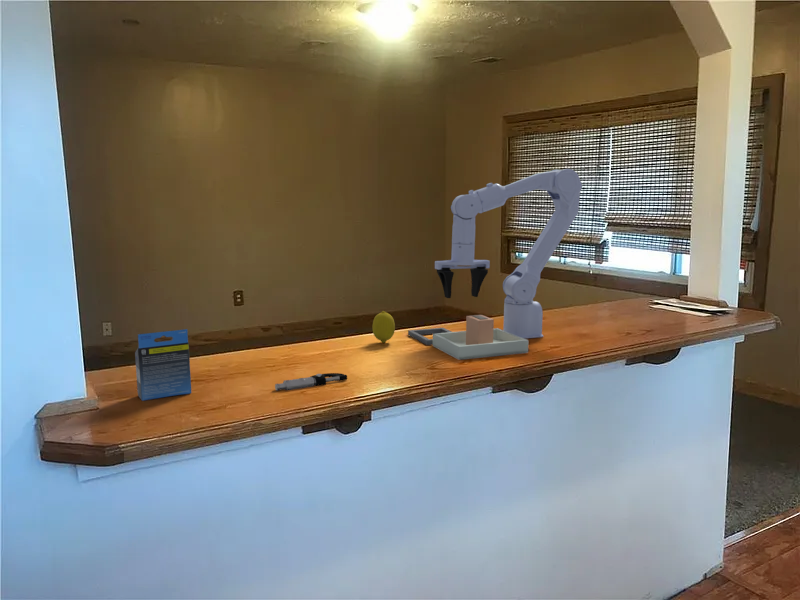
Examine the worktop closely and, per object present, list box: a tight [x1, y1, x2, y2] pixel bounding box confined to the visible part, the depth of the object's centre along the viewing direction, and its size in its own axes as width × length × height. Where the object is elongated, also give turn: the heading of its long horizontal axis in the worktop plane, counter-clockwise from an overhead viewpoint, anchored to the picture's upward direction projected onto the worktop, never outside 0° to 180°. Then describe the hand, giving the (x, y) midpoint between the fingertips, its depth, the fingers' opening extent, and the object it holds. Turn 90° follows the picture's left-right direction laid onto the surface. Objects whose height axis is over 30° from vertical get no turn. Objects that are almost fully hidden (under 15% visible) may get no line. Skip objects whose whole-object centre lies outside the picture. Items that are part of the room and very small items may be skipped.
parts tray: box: [432, 327, 529, 361], centre depth 157 cm, size 18×14×3 cm
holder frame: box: [407, 327, 453, 346], centre depth 169 cm, size 10×12×1 cm
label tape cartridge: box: [134, 328, 192, 402], centre depth 121 cm, size 9×4×12 cm, turn 120°
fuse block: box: [465, 314, 495, 345], centre depth 157 cm, size 4×6×7 cm, turn 22°
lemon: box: [371, 310, 396, 344], centre depth 163 cm, size 6×6×8 cm
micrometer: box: [274, 372, 348, 392], centre depth 131 cm, size 15×7×2 cm, turn 119°
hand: (461, 297), depth 168 cm, fingers open, 7 cm apart
